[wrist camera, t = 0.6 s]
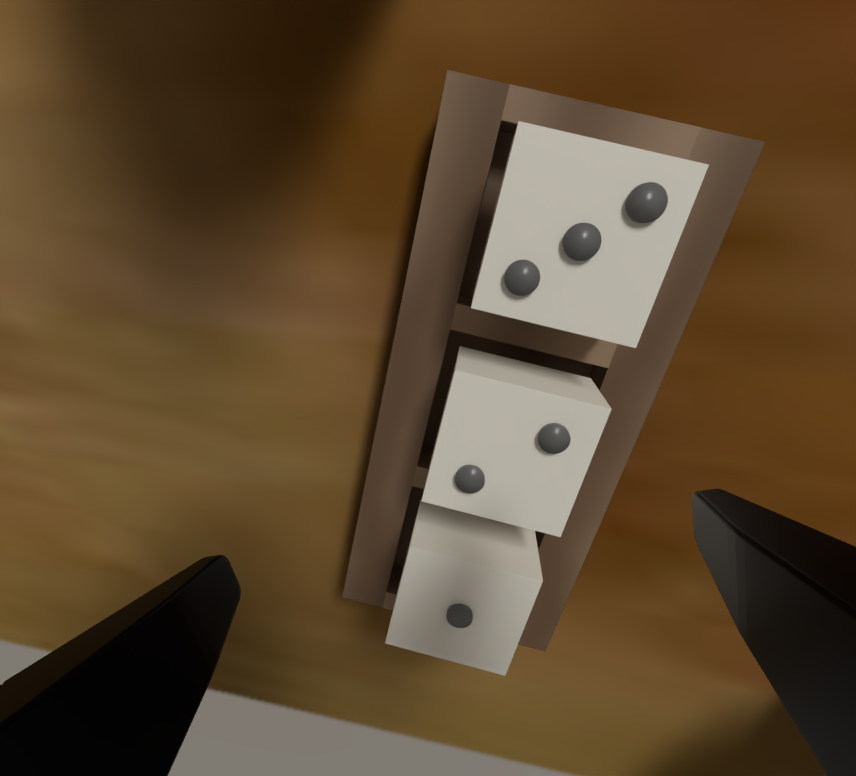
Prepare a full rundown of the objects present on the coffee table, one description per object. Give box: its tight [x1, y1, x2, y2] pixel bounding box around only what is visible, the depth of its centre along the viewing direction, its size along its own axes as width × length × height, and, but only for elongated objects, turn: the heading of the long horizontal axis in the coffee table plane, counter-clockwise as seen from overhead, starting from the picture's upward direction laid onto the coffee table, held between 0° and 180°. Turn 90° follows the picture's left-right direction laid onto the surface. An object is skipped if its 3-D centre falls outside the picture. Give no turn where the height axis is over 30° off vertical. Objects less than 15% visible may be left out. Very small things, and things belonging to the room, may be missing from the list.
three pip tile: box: [471, 121, 709, 348], centre depth 14 cm, size 5×5×3 cm
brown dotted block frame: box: [342, 70, 765, 651], centre depth 19 cm, size 10×22×2 cm, turn 167°
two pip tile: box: [422, 346, 611, 537], centre depth 17 cm, size 5×5×3 cm
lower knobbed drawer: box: [385, 500, 543, 676], centre depth 19 cm, size 5×5×3 cm
